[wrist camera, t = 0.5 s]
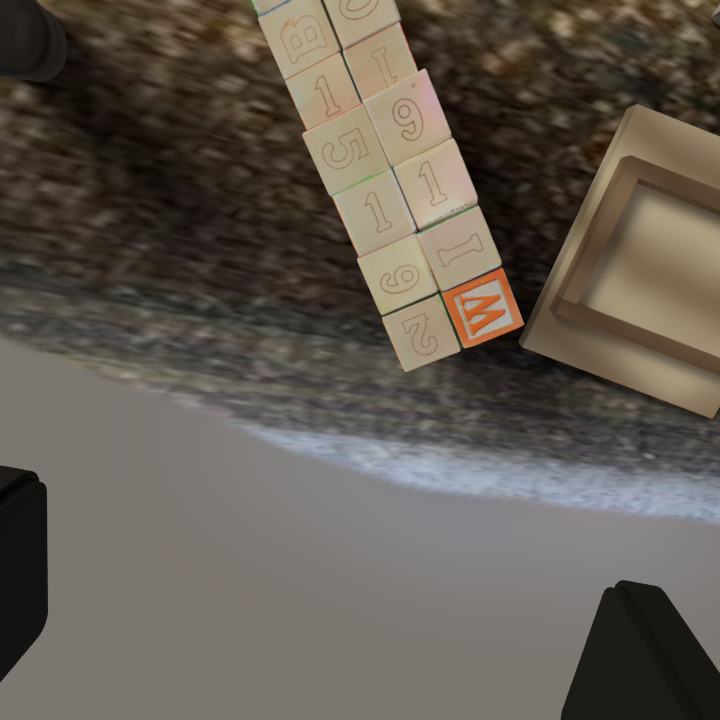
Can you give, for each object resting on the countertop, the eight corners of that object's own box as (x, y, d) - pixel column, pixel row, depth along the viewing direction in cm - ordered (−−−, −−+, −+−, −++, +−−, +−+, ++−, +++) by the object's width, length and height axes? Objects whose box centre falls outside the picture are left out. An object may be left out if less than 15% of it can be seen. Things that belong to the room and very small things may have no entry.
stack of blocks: (271, 15, 34) (202, -91, 22) (363, -34, 32) (342, -174, 21) (402, 325, 38) (404, 376, 26) (486, 290, 37) (527, 328, 25)
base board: (627, 108, 33) (648, 99, 31) (832, 189, 34) (872, 187, 31) (517, 341, 38) (527, 352, 35) (700, 411, 38) (725, 427, 35)
